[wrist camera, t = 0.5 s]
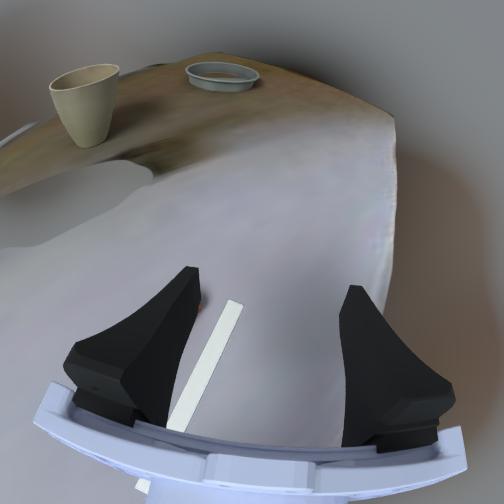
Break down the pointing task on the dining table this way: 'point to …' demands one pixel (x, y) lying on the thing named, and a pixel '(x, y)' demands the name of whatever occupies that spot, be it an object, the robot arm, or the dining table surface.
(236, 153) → the dining table surface
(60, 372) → the dining table surface
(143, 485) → the strip
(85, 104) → the plant pot
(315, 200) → the dining table surface
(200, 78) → the cake pan
